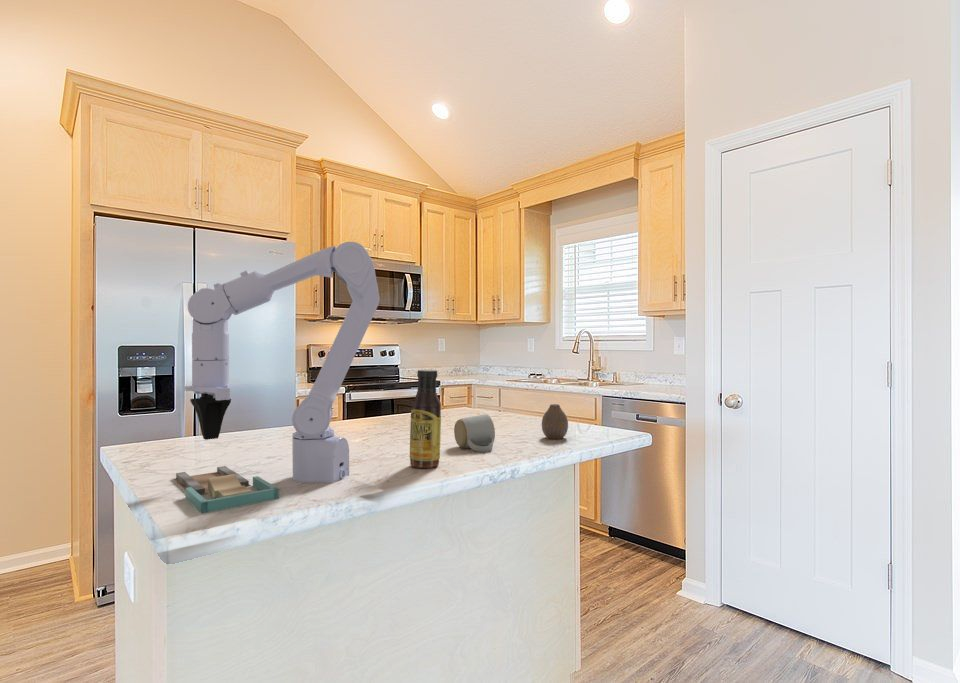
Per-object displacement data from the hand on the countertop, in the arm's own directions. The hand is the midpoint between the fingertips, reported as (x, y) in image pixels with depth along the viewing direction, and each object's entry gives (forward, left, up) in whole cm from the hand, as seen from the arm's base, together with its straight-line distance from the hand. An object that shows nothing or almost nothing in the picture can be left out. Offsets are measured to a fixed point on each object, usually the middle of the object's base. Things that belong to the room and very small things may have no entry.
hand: (210, 438), depth 94 cm
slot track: (0, 0, -9) cm, 9 cm away
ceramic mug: (-36, -46, -10) cm, 59 cm away
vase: (-53, -63, -9) cm, 83 cm away
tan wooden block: (-11, +8, -9) cm, 16 cm away
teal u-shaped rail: (-10, +7, -9) cm, 15 cm away
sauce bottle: (-30, -26, -9) cm, 41 cm away
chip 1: (-6, +5, -8) cm, 11 cm away
